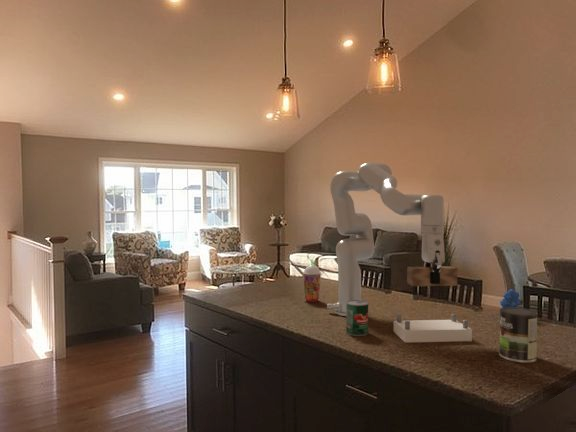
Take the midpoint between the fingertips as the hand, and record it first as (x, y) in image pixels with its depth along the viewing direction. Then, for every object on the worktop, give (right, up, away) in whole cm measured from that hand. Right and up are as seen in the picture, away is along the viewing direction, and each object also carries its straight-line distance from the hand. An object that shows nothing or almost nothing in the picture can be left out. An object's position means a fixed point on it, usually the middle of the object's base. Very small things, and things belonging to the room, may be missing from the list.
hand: (431, 281), depth 161 cm
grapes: (+38, -19, +25) cm, 50 cm away
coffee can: (+19, -20, -21) cm, 35 cm away
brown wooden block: (0, -1, 0) cm, 1 cm away
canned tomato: (-25, -19, +5) cm, 32 cm away
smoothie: (-39, -18, +58) cm, 72 cm away
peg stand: (0, -19, +1) cm, 19 cm away
